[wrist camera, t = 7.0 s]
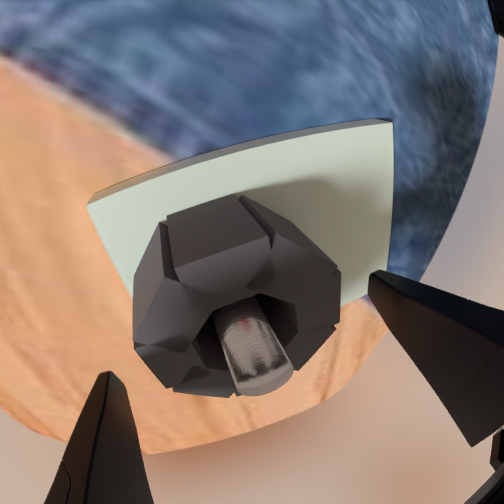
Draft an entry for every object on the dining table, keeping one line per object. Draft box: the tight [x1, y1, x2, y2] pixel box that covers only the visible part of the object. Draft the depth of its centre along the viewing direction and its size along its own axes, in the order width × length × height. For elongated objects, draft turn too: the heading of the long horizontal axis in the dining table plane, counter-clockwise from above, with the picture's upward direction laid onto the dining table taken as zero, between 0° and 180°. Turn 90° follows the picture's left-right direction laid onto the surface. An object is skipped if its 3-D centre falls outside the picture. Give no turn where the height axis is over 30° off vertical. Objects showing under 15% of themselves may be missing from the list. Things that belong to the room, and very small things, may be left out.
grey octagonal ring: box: [133, 194, 341, 398], centre depth 9 cm, size 6×6×3 cm
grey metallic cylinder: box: [211, 295, 294, 396], centre depth 9 cm, size 2×2×6 cm
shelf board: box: [86, 119, 394, 307], centre depth 12 cm, size 12×9×1 cm
